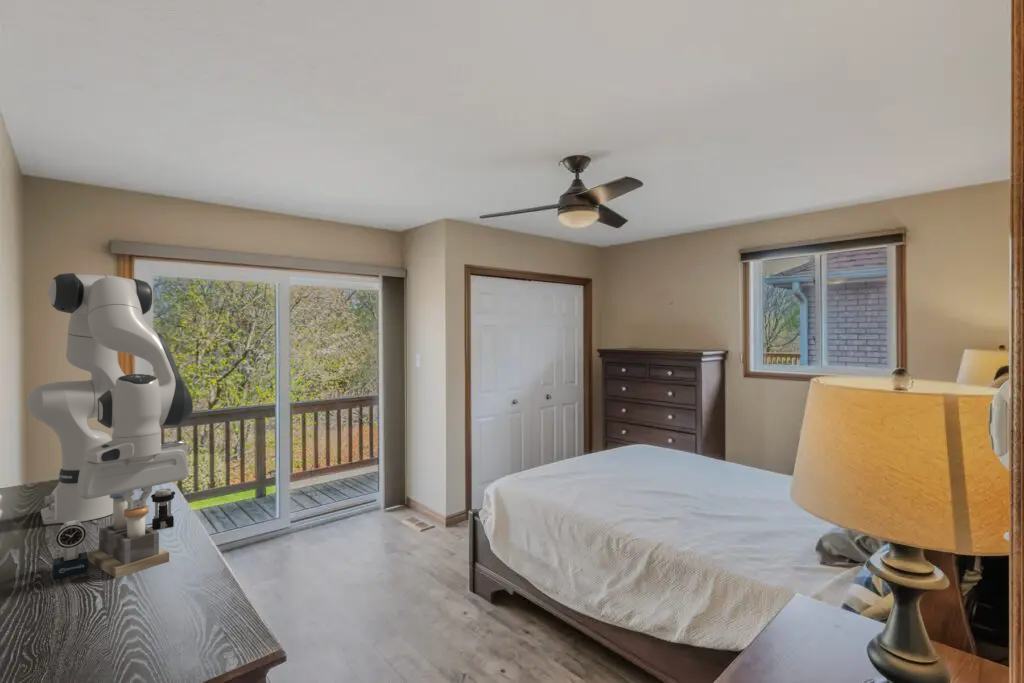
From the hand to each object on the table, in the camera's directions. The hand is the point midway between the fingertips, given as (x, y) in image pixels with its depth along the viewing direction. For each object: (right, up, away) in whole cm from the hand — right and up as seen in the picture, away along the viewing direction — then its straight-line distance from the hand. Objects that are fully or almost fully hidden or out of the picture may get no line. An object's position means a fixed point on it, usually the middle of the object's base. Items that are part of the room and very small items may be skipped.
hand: (136, 508), depth 110 cm
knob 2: (0, -9, 0) cm, 9 cm away
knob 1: (-7, -7, +4) cm, 10 cm away
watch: (-11, -13, -4) cm, 18 cm away
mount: (-4, -13, +2) cm, 13 cm away
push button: (-11, -13, +22) cm, 28 cm away
